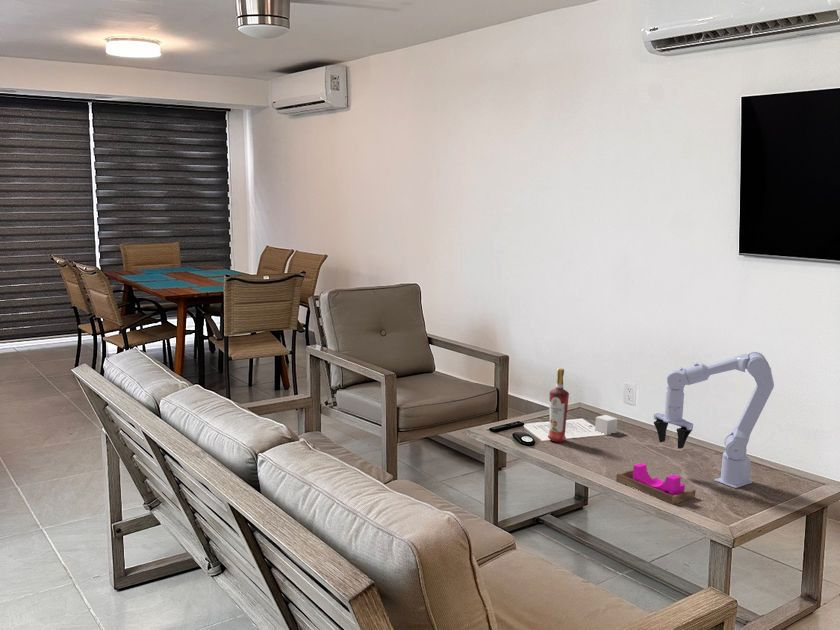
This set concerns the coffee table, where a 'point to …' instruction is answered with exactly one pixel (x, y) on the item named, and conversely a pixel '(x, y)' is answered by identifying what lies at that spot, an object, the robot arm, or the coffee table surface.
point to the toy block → (658, 481)
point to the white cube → (606, 424)
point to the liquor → (558, 409)
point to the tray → (626, 479)
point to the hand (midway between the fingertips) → (671, 444)
